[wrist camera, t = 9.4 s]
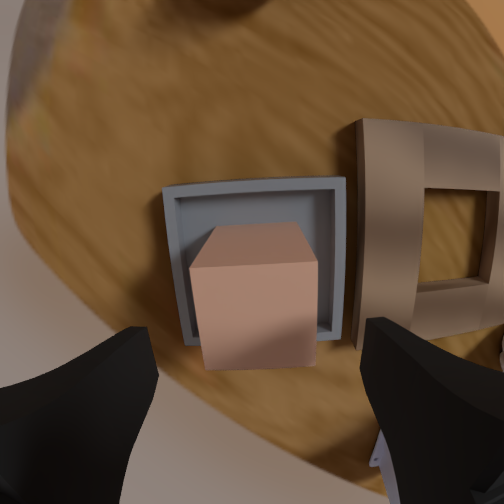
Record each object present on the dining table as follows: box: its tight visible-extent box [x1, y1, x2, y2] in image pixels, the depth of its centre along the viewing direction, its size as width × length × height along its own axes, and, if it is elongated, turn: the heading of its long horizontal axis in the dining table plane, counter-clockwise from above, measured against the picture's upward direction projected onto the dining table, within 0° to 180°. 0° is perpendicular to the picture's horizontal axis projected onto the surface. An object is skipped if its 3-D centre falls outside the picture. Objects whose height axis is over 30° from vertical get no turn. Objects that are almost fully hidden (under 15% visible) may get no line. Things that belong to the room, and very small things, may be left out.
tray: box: [162, 175, 346, 346], centre depth 18 cm, size 10×10×2 cm
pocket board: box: [351, 118, 504, 350], centre depth 17 cm, size 14×14×2 cm
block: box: [189, 222, 318, 370], centre depth 15 cm, size 4×4×7 cm
